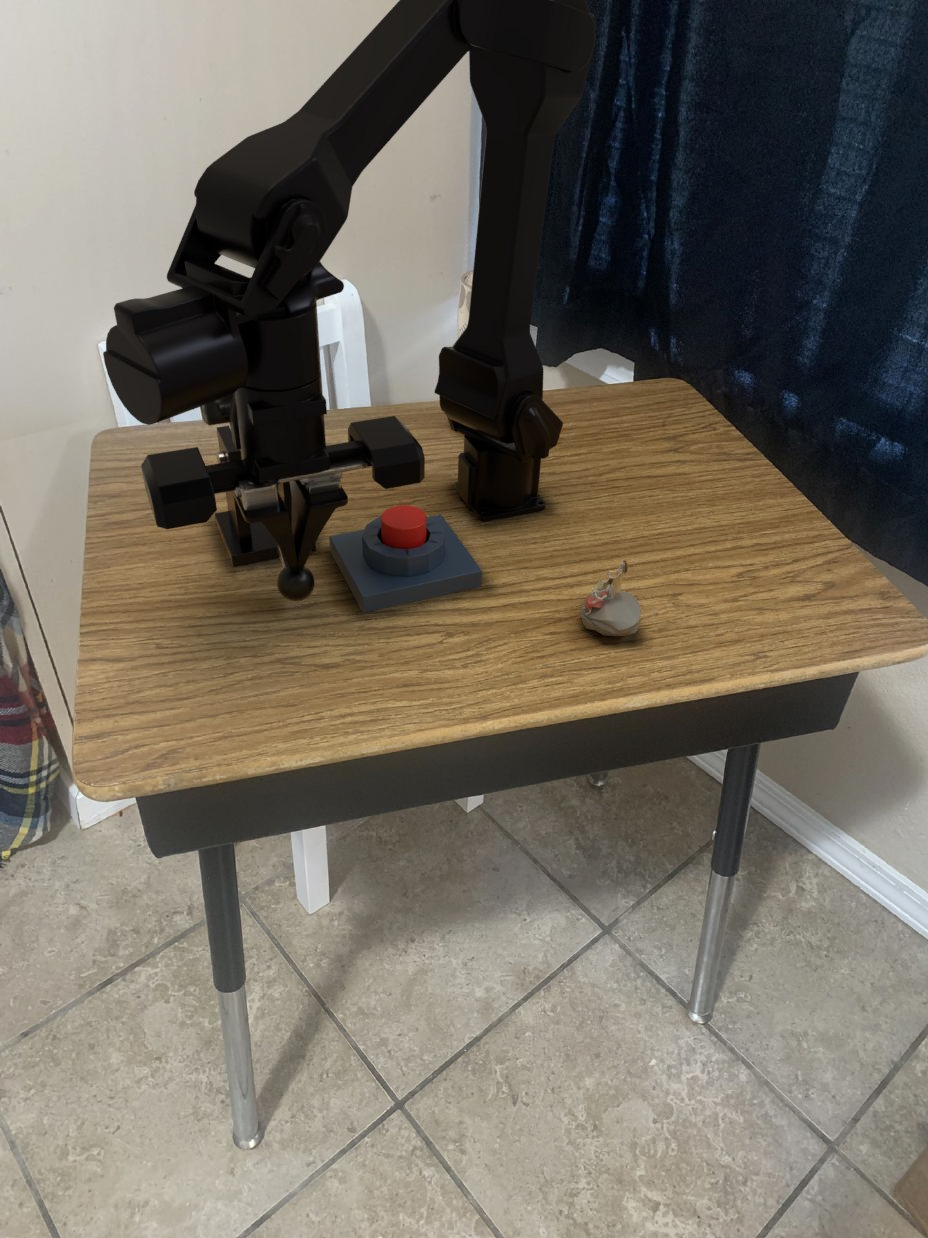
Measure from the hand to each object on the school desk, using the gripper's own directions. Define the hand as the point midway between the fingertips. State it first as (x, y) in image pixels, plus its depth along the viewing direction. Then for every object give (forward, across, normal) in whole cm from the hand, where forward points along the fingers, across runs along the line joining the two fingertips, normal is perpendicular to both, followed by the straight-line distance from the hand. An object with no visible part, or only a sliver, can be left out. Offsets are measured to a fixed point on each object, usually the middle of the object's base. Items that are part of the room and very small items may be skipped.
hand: (295, 568), depth 73 cm
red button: (+1, -10, -2) cm, 10 cm away
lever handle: (0, 0, -6) cm, 6 cm away
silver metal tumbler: (+4, -26, -24) cm, 36 cm away
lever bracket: (+4, 0, -11) cm, 12 cm away
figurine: (+4, -22, +10) cm, 24 cm away
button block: (+4, -10, -2) cm, 11 cm away
